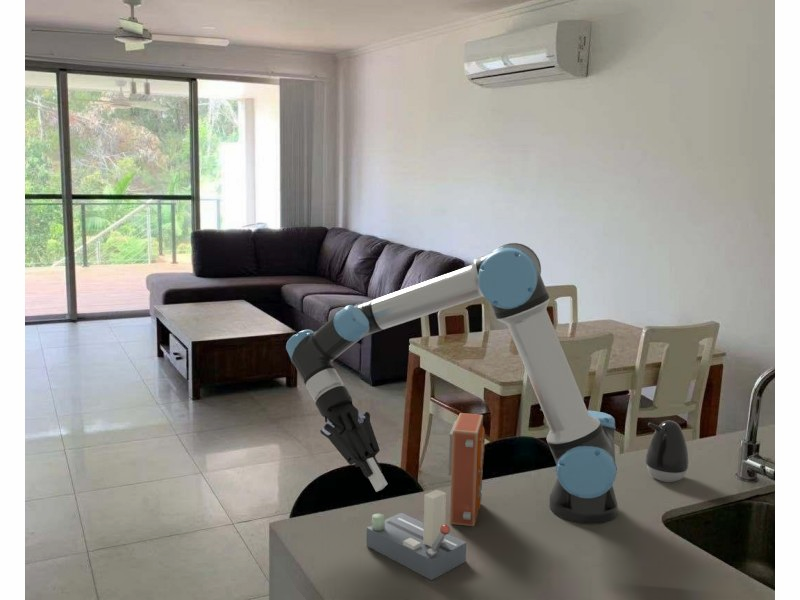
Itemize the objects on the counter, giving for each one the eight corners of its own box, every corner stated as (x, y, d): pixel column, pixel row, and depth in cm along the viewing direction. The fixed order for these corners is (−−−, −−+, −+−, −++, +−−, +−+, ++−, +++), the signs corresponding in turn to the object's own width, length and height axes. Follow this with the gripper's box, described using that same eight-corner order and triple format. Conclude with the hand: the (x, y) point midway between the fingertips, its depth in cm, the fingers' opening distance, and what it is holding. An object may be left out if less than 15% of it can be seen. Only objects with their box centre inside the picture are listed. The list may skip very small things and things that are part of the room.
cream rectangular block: (423, 543, 145) (424, 494, 143) (435, 537, 147) (436, 489, 145) (432, 547, 143) (433, 498, 141) (444, 541, 145) (446, 493, 144)
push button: (369, 527, 151) (369, 516, 150) (378, 523, 152) (378, 512, 152) (378, 531, 149) (378, 520, 148) (387, 527, 151) (387, 516, 150)
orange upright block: (483, 500, 174) (477, 529, 160) (453, 497, 175) (444, 526, 161) (486, 412, 171) (480, 434, 156) (456, 410, 172) (447, 431, 157)
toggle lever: (424, 552, 140) (440, 524, 137) (431, 548, 142) (447, 521, 138) (430, 559, 139) (446, 531, 136) (437, 555, 141) (453, 528, 137)
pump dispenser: (640, 468, 195) (644, 413, 192) (681, 471, 193) (686, 415, 191) (647, 484, 185) (652, 426, 182) (691, 487, 183) (696, 428, 181)
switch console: (366, 545, 152) (366, 524, 151) (400, 530, 159) (401, 509, 158) (431, 580, 139) (432, 556, 139) (465, 561, 146) (466, 538, 146)
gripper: (344, 397, 170) (395, 487, 161) (298, 409, 161) (350, 505, 152) (359, 379, 166) (413, 471, 157) (313, 390, 156) (367, 488, 148)
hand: (382, 488), depth 154 cm, fingers closed
